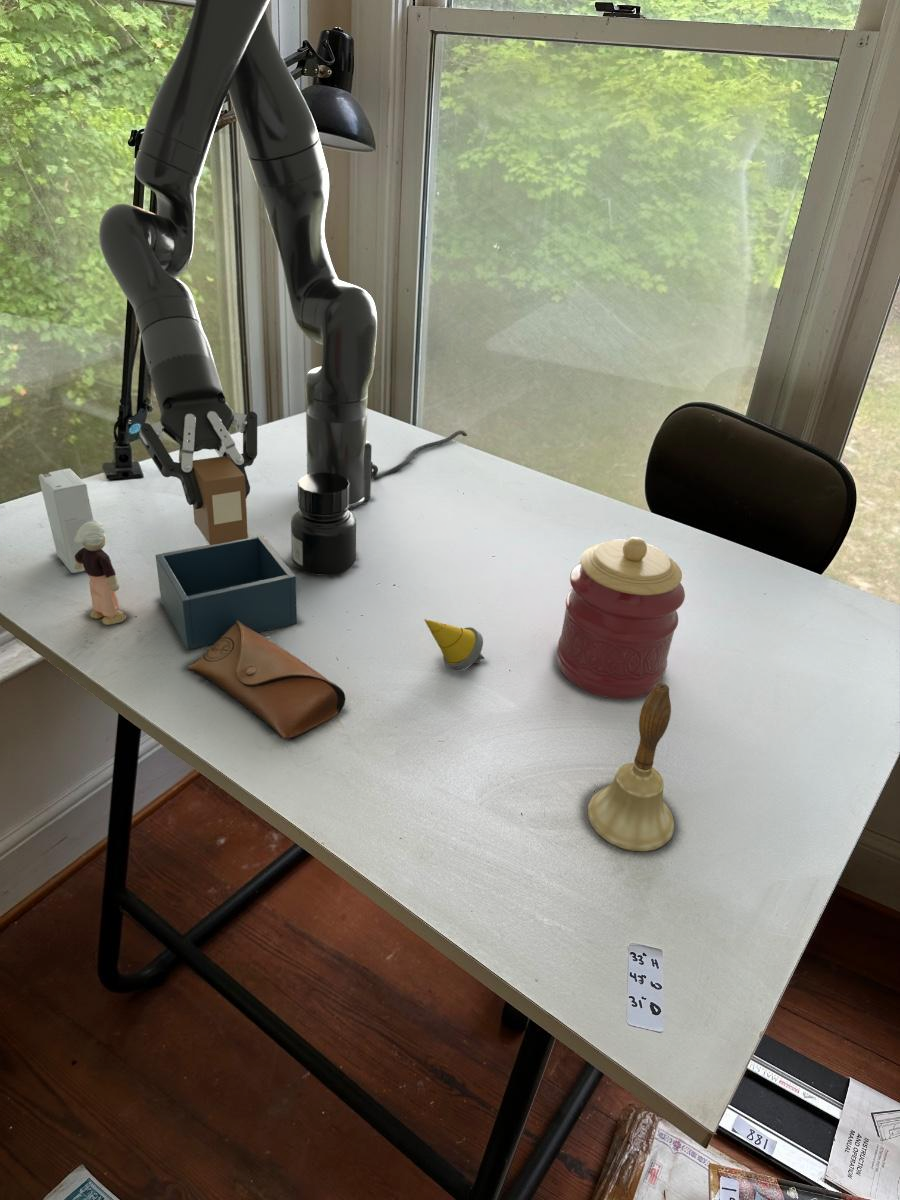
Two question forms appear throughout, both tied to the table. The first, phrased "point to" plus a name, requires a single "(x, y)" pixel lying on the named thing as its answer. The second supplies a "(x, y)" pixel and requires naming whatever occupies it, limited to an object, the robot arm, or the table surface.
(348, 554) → the ink bottle
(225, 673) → the sunglasses case
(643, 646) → the kitchen canister
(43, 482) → the cosmetic box
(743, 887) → the table surface
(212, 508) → the brown packet
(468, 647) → the yellow spinning top
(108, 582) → the grandmother figurine
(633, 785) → the hand bell
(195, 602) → the open storage box
